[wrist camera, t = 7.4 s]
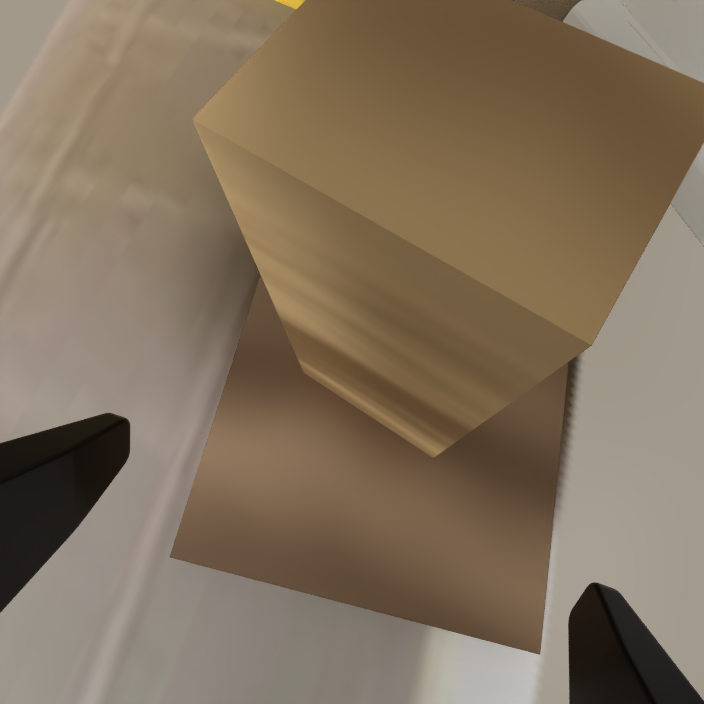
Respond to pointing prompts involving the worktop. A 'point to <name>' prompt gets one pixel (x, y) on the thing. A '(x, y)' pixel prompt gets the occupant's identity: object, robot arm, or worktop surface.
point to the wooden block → (445, 195)
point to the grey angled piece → (661, 47)
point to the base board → (376, 498)
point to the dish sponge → (291, 3)
